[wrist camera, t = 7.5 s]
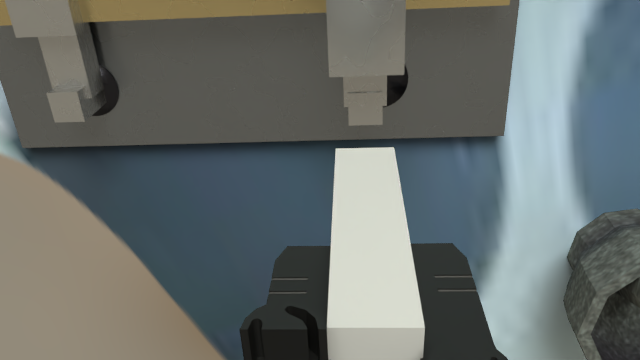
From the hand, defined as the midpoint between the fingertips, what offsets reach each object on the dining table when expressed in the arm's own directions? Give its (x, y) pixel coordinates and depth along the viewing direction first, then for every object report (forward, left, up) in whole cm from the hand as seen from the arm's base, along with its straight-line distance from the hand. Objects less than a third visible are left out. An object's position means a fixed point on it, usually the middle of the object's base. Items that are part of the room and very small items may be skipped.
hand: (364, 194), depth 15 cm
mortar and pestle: (+14, +16, -17) cm, 27 cm away
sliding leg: (-1, 0, -16) cm, 16 cm away
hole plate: (0, -6, -17) cm, 18 cm away
